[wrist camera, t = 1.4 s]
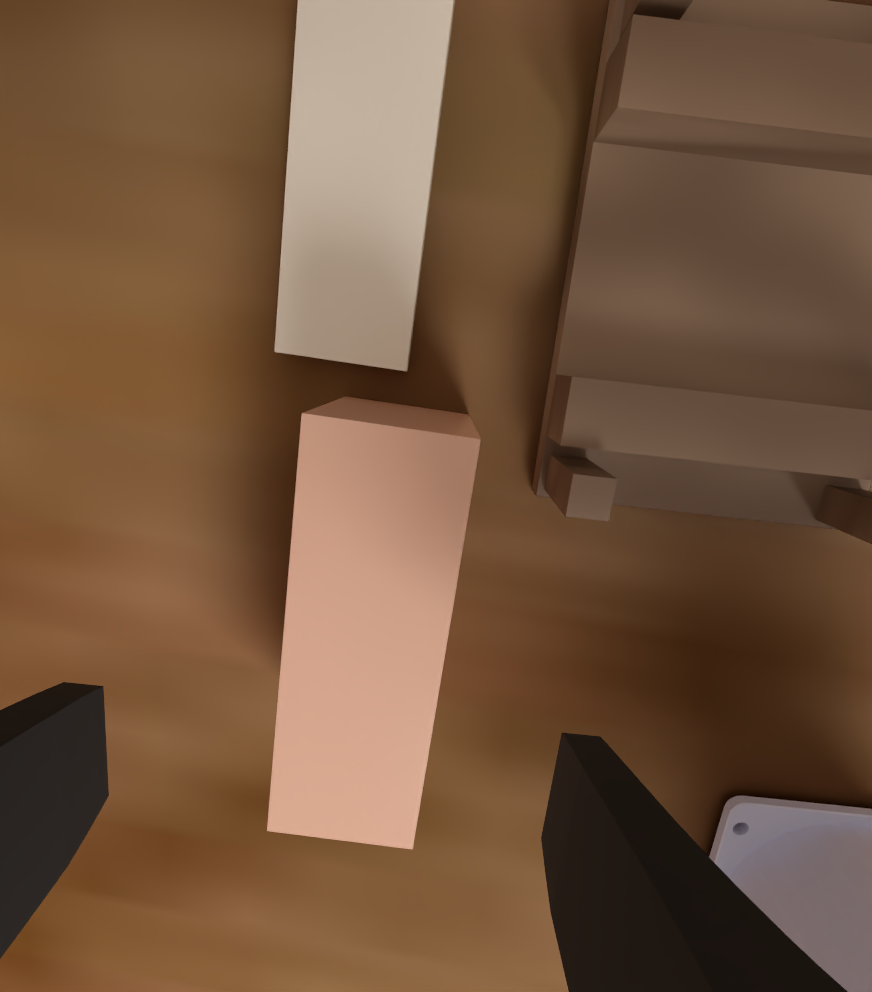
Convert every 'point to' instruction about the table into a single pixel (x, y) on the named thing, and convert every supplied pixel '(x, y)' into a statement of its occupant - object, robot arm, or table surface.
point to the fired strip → (359, 176)
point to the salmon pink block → (367, 615)
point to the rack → (720, 270)
